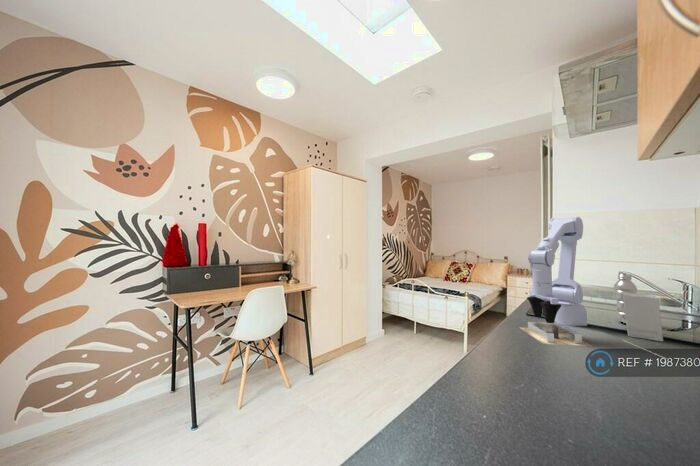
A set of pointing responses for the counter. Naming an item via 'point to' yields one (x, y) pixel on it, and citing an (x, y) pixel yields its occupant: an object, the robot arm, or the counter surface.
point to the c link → (546, 333)
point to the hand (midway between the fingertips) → (543, 319)
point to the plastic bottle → (622, 287)
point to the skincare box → (643, 316)
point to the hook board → (555, 338)
